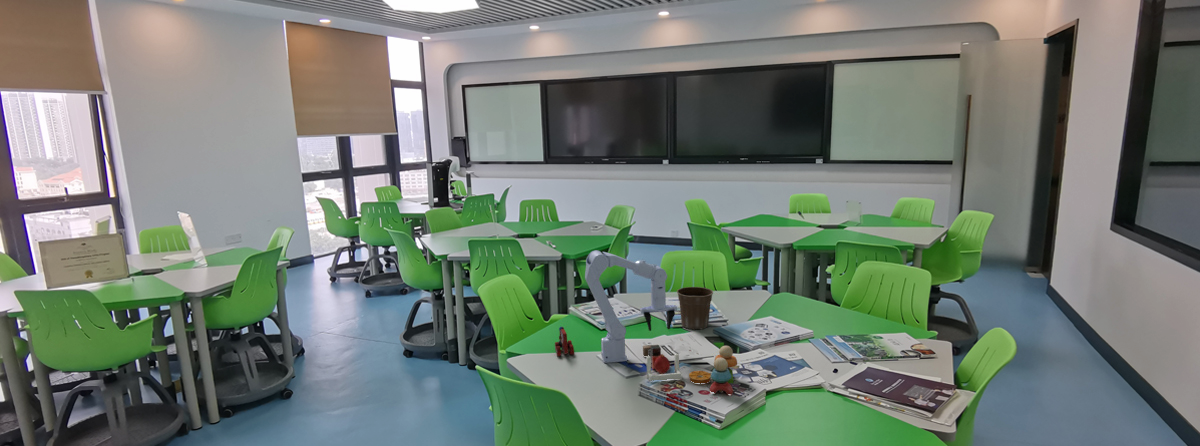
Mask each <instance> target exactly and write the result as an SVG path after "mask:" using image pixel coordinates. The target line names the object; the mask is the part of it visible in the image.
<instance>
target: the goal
mask: <svg viewBox="0 0 1200 446" xmlns="http://www.w3.org/2000/svg"><path fill="white" fill-rule="evenodd" d="M645 359H646V379H647V380H648V381H649V380H650V381H652V380H653V381H654V380H667V379H681V380H682V372H681V371H680V355H679V353H675V354H674V373H673V372H672V373H665V374H660V373H659V374H653V373H652V364H651V357H650V356H647V357H646V358H645ZM650 381H649V382H650Z"/></svg>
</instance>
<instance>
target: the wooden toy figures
mask: <svg viewBox="0 0 1200 446" xmlns="http://www.w3.org/2000/svg"><path fill="white" fill-rule="evenodd" d="M718 352H719V354H717V355H716V356H715V357H714V361H713V367H714V368H713V369H712V372H711V373H710V372H708V371H705V370H695V371H690V372H689V374H688V377H689V381H690V380H691V381H692V382H694V383H700V384H701V383H707V382H709V381H710V382H711V379H712V380H713V382H712V383H711V385H710V387H709V390H710V391H711V392H714V393H717V392H718V391H720V392H722V391H723V392H725V393H726V395H727V394H732V393H733V394H734V389H733V386H732V385H731V384H729V383H732V384H734V375H733V374H734V373H733V369H732V368H734V367H736V366H737V365H738V360H737V358H736V356H734V354H733V352H734V351H733V348H732V347H730V346H729V345H723V346H721V347H720V348H719V351H718ZM691 381H690V382H691ZM692 382H691V383H692ZM710 382H709V383H710ZM694 383H693V384H694ZM720 392H719V393H720Z"/></svg>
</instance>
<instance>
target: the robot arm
mask: <svg viewBox="0 0 1200 446" xmlns="http://www.w3.org/2000/svg"><path fill="white" fill-rule="evenodd" d="M585 265H586V266H585V273H584V280H585V281H586V284H587V286H588V288H589V289H590V292H591V293H592V296H593V298H594V301H595V302H596V305H597V307H598V308H599V310H600V312H601V314H602V317H603V320H604V327H605V329H606V331H607V333H606V336H605V337H602V338H601V339H600V342H601V343H600V347H601V352H600V353H601V358H602V361H603V363H604V364H606V363H619V362H620V363H621V362H628V361H629V359H628V357H627V355H626V334H627V329H626V326H625V325H623V324H622V322H621V321H620V320H619V318H618V316H617V315H616V313H615V311H614V309H613V306H612V304H611V302H610V299H609V298H608V296H607V294H606V291H605V289H604V288H603V285H602V283H601V281H600V278H601V276H602V274H603V273H604V272H605V271H606V270H607V268H612V267H614V266H617V267H620V268H624V269H627V270H630V271H632V272H633V274H634V275H636V276H638V277H639V276H640V277H642V278H644V279H648V280H649V279H650V301H651V304H650V306H644V307H640V308H639V309H640V311H639V312H640V314H642V315H643V316H644V318H645V320H646V324H647V328H648V331H652V324H651V323H652V316H651V313H663V312H664V313H666V328H667V330H670V329H671V325H672V321H673V319H674V317H675V314H676V313H675V312H678V306H677V305H676V304H675V305H673V304H671V305H670V304H667V302H666V281H667V279H668V273H667V272H666V270H665V269H664V268H662V267H660V266H659V265H657V264H655V263H652V264H650V263H648V262H646V260H643V259H641V260H636V261H632V260H629V259H626V258H624V257H621V256H620V255H619V256H618V255H616V254H613V253H610V252H606V251H602V252H601V251H600V250H597V249H596V250H592V251H590V253H588V255H587V257H586V259H585ZM627 360H628V361H627Z"/></svg>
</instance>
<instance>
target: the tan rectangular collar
mask: <svg viewBox="0 0 1200 446" xmlns="http://www.w3.org/2000/svg"><path fill="white" fill-rule="evenodd" d="M647 345H648V346H646V345H643V346H642V354H643V355H644V356H648V350H650V349H651V346H654V345H655V344H647ZM643 355H642V356H643ZM644 356H643V357H644Z"/></svg>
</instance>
